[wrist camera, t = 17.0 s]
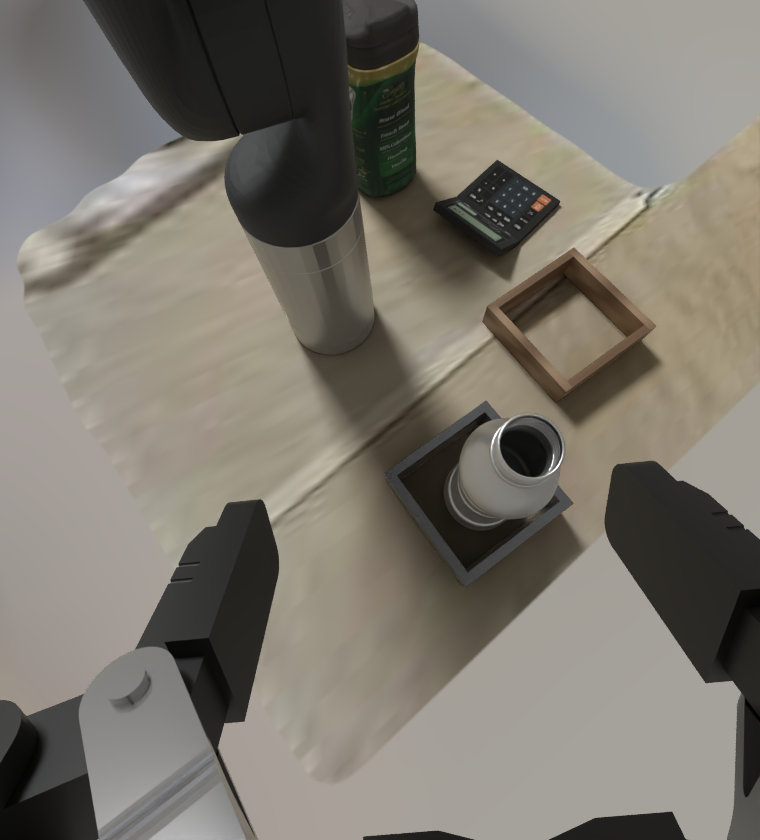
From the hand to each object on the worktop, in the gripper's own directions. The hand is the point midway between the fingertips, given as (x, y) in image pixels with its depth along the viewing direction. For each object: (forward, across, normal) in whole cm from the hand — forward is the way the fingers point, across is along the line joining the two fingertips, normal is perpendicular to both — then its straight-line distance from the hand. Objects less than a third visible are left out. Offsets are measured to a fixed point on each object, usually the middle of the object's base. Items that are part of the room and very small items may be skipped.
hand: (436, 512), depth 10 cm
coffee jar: (+55, -1, -9) cm, 56 cm away
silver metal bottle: (+26, -6, +20) cm, 34 cm away
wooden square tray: (+38, -18, +9) cm, 43 cm away
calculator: (+49, -14, -2) cm, 51 cm away
